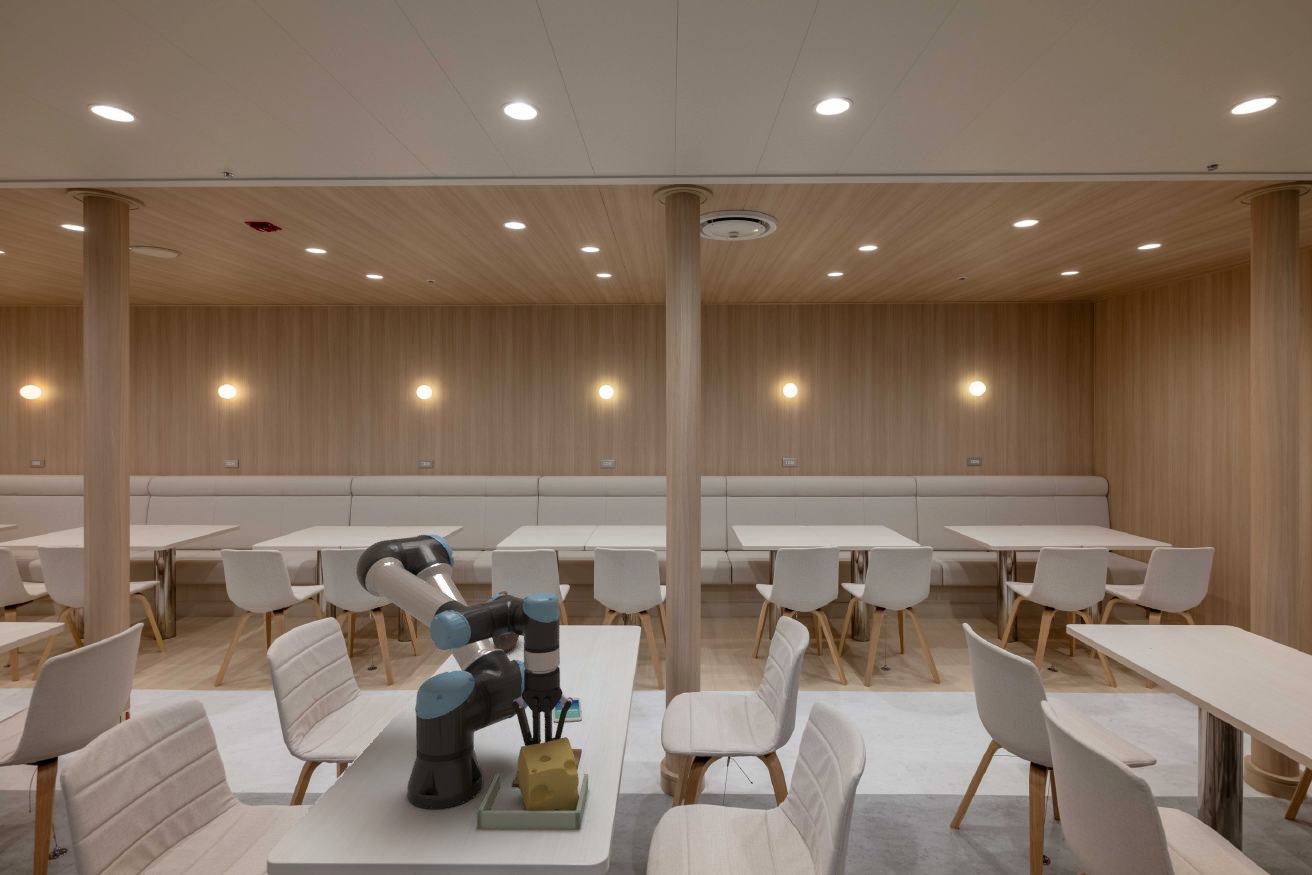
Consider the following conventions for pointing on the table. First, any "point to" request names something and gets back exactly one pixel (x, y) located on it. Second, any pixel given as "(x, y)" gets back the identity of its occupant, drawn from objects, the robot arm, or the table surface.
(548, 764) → the cheese
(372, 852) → the table surface
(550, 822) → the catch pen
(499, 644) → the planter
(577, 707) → the smartphone
